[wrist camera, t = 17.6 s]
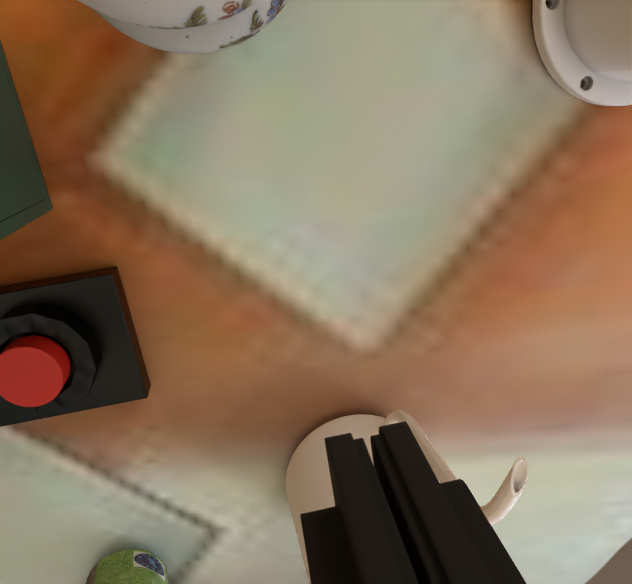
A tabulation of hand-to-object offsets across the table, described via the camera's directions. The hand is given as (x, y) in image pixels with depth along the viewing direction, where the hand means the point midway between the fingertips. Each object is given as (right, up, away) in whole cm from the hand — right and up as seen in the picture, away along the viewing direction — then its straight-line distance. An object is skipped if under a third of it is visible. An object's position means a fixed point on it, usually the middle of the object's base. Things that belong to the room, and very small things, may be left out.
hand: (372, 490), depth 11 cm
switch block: (-19, 0, +26) cm, 32 cm away
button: (-18, -1, +23) cm, 30 cm away
